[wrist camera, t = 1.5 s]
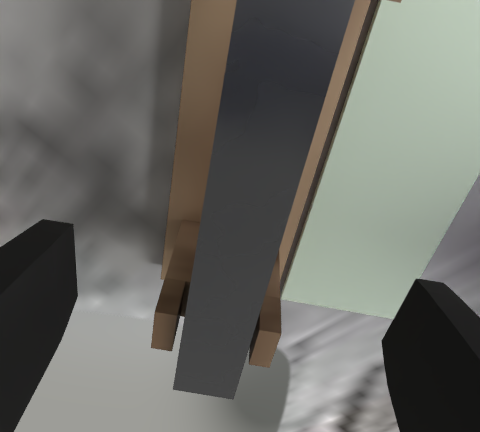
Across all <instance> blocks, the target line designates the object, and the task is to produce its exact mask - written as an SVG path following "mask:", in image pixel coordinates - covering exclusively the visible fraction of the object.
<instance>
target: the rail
mask: <svg viewBox="0 0 480 432" xmlns="http://www.w3.org/2000/svg"><path fill="white" fill-rule="evenodd" d="M354 2H355V0H237V2H236V8H235V14H234V20H233V26H232V32H231V38H230V44H229V50H228V56H227V63H226V69H225V75H224V81H223V87H222V93H221V99H220V105H219V111H218V117H217V124H216V130H215V136H214V142H213V148H212V154H211V160H210V166H209V172H208V179H207V185H206V191H205V197H204V203H203V209H202V215H201V221H200V227H199V233H198V240H197V246H196V252H195V258H194V264H193V270H192V276H191V282H190V288H189V295H188V301H187V307H186V313H185V319H184V325H183V331H182V338H181V343H180V349H179V356H178V362H177V368H176V374H175V380H174V386H173V389H174V390H179V391H186V392H191V393H197V394H203V395H210V396H215V397H222V398H228V399H234V395H235V392H236V389H237V386H238V383H239V379H240V376H241V373H242V369H243V366H244V363H245V360H246V356H247V353H248V350H249V346H250V343H251V340H252V337H253V333H254V330H255V327H256V324H257V320H258V317H259V314H260V310H261V307H262V304H263V301H264V297H265V294H266V291H267V287H268V284H269V281H270V278H271V274H272V271H273V268H274V264H275V261H276V258H277V255H278V251H279V248H280V245H281V242H282V238H283V235H284V232H285V228H286V225H287V222H288V219H289V215H290V212H291V209H292V205H293V202H294V199H295V196H296V192H297V189H298V186H299V183H300V179H301V176H302V173H303V169H304V166H305V163H306V160H307V156H308V153H309V150H310V146H311V143H312V140H313V137H314V133H315V130H316V127H317V124H318V120H319V117H320V114H321V110H322V107H323V104H324V101H325V97H326V94H327V91H328V87H329V84H330V81H331V78H332V74H333V71H334V68H335V64H336V61H337V58H338V55H339V51H340V48H341V45H342V42H343V38H344V35H345V32H346V28H347V25H348V22H349V19H350V15H351V12H352V9H353V5H354Z"/></svg>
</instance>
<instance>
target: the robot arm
mask: <svg viewBox="0 0 480 432" xmlns="http://www.w3.org/2000/svg"><path fill="white" fill-rule="evenodd" d="M77 297H78V292H77V276H76V260H75V244H74V228H73V224H69V223H63V222H57V221H50V220H44V219H43V220H41V221H39V222H38V223H36V224H35V225H33V226H32V227H30V228H29V229H27V230H26V231H24V232H23V233H21V234H20V235H18V236H17V237H15V238H14V239H12V240H11V241H9V242H8V243H6V244H5V245H3V246H2V247H0V432H14V430H15V428H16V426H17V424H18V422H19V420H20V418H21V417H22V415H23V413H24V411H25V409H26V407H27V405H28V403H29V402H30V400H31V398H32V396H33V394H34V392H35V390H36V388H37V386H38V384H39V382H40V381H41V379H42V377H43V375H44V373H45V371H46V369H47V367H48V365H49V363H50V361H51V359H52V357H53V355H54V353H55V351H56V350H57V348H58V345H59V343H60V342H61V340H62V337H63V334H64V332H65V329H66V327H67V324H68V321H69V319H70V316H71V313H72V310H73V308H74V305H75V302H76V299H77ZM382 349H383V357H384V365H385V372H386V378H387V385H388V389H389V393H390V397H391V401H392V405H393V408H394V412H395V416H396V419H397V423H398V427H399V430H400V432H480V317H479V316H478V315H477V314H476V313H475V312H474V311H473V310H472V309H471V308H470V307H469V306H468V305H466V304H465V303H464V302H463V301H462V300H461V299H460V298H459V297H458V296H457V295H456V294H455V293H454V292H453V291H452V290H451V289H450V288H449V287H447V286H446V285H445V284H444V283H441V282H435V281H428V280H422V279H415V281H414V283H413V285H412V286H411V288H410V290H409V292H408V294H407V296H406V297H405V299H404V301H403V303H402V305H401V307H400V308H399V310H398V312H397V314H396V316H395V317H394V319H393V321H392V323H391V325H390V327H389V328H388V330H387V332H386V334H385V336H384V338H383V339H382Z"/></svg>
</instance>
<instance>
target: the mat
mask: <svg viewBox="0 0 480 432" xmlns="http://www.w3.org/2000/svg"><path fill="white" fill-rule="evenodd" d="M479 174H480V0H402V1H401V3H398V2H393V1H389V0H379V1H378V4H377V7H376V10H375V13H374V16H373V19H372V22H371V25H370V28H369V31H368V34H367V37H366V40H365V43H364V46H363V49H362V52H361V55H360V58H359V61H358V64H357V67H356V70H355V73H354V76H353V79H352V82H351V85H350V88H349V91H348V94H347V97H346V100H345V103H344V106H343V109H342V112H341V115H340V118H339V121H338V124H337V127H336V130H335V133H334V136H333V139H332V142H331V145H330V148H329V151H328V154H327V157H326V160H325V163H324V166H323V169H322V172H321V175H320V178H319V181H318V184H317V187H316V190H315V193H314V196H313V199H312V202H311V205H310V208H309V211H308V214H307V217H306V220H305V223H304V226H303V229H302V232H301V235H300V238H299V241H298V244H297V247H296V250H295V253H294V256H293V259H292V262H291V265H290V268H289V271H288V274H287V277H286V280H285V283H284V286H283V289H282V292H281V299H282V300H287V301H293V302H299V303H304V304H310V305H316V306H321V307H327V308H332V309H338V310H344V311H349V312H355V313H361V314H366V315H372V316H377V317H383V318H389V319H394V317H395V316H396V314H397V312H398V310H399V308H400V307H401V305H402V303H403V301H404V299H405V297H406V296H407V294H408V292H409V290H410V288H411V286H412V285H413V283H414V281H415V279H420V277H421V275H422V273H423V272H424V270H425V268H426V266H427V265H428V263H429V261H430V259H431V258H432V256H433V254H434V252H435V251H436V249H437V247H438V245H439V244H440V242H441V240H442V238H443V237H444V235H445V233H446V231H447V230H448V228H449V226H450V224H451V223H452V221H453V219H454V217H455V216H456V214H457V212H458V210H459V209H460V207H461V205H462V203H463V202H464V200H465V198H466V196H467V195H468V193H469V191H470V189H471V188H472V186H473V184H474V182H475V181H476V179H477V177H478V175H479Z"/></svg>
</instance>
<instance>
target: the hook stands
mask: <svg viewBox="0 0 480 432" xmlns="http://www.w3.org/2000/svg"><path fill="white" fill-rule="evenodd" d="M389 1H393V2H398V3H401V1H402V0H389ZM236 2H237V0H191V8H190V17H189V26H188V35H187V44H186V54H185V63H184V72H183V81H182V90H181V99H180V108H179V117H178V126H177V136H176V145H175V154H174V163H173V172H172V181H171V190H170V199H169V208H168V218H167V227H166V236H165V245H164V254H163V263H162V272H161V279H163V280H164V283H163V286H162V290H161V293H160V296H159V300H158V303H157V306H156V310H155V315H154V325H153V334H152V344H151V348H155V349H161V350H167V351H172V349H173V344H174V339H175V336H176V331H177V327H178V323H179V318H180V316H183V317H185V313H186V307H187V301H188V295H189V288H190V282H191V276H192V270H193V264H194V258H195V252H196V246H197V240H198V233H199V227H200V221H201V215H202V209H203V203H204V197H205V191H206V185H207V179H208V172H209V166H210V160H211V154H212V148H213V142H214V136H215V130H216V124H217V117H218V111H219V105H220V99H221V93H222V87H223V81H224V75H225V69H226V63H227V56H228V50H229V44H230V38H231V32H232V26H233V20H234V14H235V8H236ZM370 2H371V0H355V2H354V5H353V9H352V12H351V15H350V19H349V22H348V25H347V28H346V32H345V35H344V38H343V42H342V45H341V48H340V51H339V55H338V58H337V61H336V64H335V68H334V71H333V74H332V78H331V81H330V84H329V87H328V91H327V94H326V97H325V101H324V104H323V107H322V110H321V114H320V117H319V120H318V124H317V127H316V130H315V133H314V137H313V140H312V143H311V146H310V150H309V153H308V156H307V160H306V163H305V166H304V169H303V173H302V176H301V179H300V183H299V186H298V189H297V192H296V196H295V199H294V202H293V205H292V209H291V212H290V215H289V219H288V222H287V225H286V228H285V232H284V235H283V238H282V242H281V245H280V248H279V251H278V255H277V258H276V261H275V264H274V268H273V271H272V274H271V278H270V281H269V284H268V287H267V291H266V294H265V297H264V301H263V304H262V307H261V310H260V314H259V317H258V320H257V324H256V327H255V330H254V333H253V337H252V340H251V343H250V352H249V353H250V354H249V364H250V365H256V366H262V367H270V364H271V361H272V358H273V356H274V353H275V350H276V347H277V345H278V342H279V339H280V336H281V301H280V280H281V276H282V273H283V270H284V267H285V264H286V261H287V258H288V255H289V252H290V249H291V246H292V243H293V239H294V236H295V233H296V230H297V227H298V224H299V221H300V218H301V215H302V212H303V209H304V205H305V202H306V199H307V196H308V193H309V190H310V187H311V184H312V181H313V178H314V175H315V172H316V168H317V165H318V162H319V159H320V156H321V153H322V150H323V147H324V144H325V141H326V138H327V134H328V131H329V128H330V125H331V122H332V119H333V116H334V113H335V110H336V107H337V104H338V101H339V97H340V94H341V91H342V88H343V85H344V82H345V79H346V76H347V73H348V70H349V67H350V63H351V60H352V57H353V54H354V51H355V48H356V45H357V42H358V39H359V36H360V33H361V30H362V26H363V23H364V20H365V17H366V14H367V11H368V8H369V5H370Z"/></svg>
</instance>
